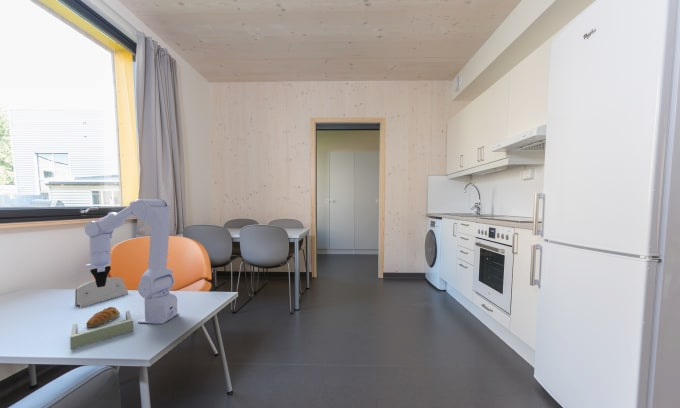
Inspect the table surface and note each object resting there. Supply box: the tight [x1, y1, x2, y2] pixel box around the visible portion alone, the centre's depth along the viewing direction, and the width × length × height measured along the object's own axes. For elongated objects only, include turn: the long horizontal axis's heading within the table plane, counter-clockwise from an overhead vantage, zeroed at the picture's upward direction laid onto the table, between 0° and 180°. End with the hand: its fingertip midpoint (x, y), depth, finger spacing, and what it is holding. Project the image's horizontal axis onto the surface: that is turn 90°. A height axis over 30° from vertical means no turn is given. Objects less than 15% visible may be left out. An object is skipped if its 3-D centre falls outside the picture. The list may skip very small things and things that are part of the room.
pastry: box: [86, 306, 121, 328], centre depth 88 cm, size 9×7×4 cm
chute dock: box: [69, 310, 134, 350], centre depth 80 cm, size 12×14×4 cm
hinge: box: [74, 276, 129, 308], centre depth 108 cm, size 17×5×10 cm, turn 154°
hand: (101, 286), depth 95 cm, fingers closed
